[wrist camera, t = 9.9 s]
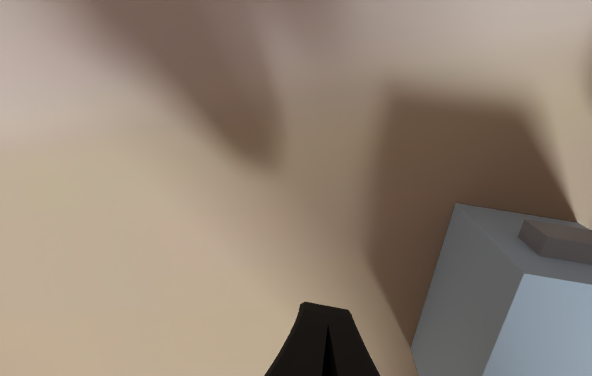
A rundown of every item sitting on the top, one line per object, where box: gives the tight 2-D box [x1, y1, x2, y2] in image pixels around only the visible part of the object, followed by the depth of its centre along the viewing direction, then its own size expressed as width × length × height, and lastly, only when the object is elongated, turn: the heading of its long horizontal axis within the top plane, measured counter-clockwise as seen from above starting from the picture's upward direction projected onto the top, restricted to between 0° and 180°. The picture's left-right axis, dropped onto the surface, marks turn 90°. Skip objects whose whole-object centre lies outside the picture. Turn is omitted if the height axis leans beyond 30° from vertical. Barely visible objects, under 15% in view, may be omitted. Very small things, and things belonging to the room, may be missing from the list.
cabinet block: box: [411, 203, 592, 376], centre depth 12 cm, size 8×4×5 cm, turn 172°
